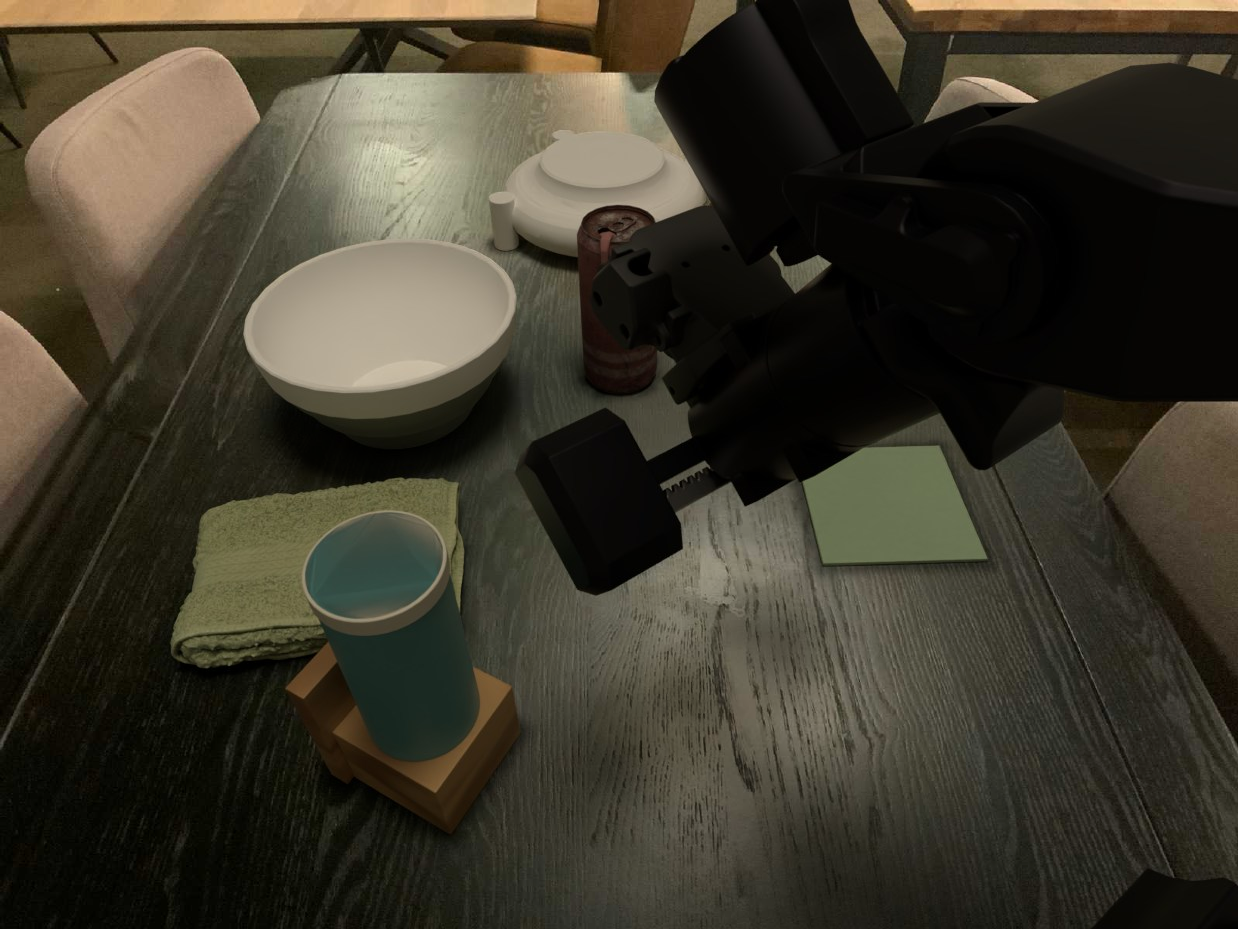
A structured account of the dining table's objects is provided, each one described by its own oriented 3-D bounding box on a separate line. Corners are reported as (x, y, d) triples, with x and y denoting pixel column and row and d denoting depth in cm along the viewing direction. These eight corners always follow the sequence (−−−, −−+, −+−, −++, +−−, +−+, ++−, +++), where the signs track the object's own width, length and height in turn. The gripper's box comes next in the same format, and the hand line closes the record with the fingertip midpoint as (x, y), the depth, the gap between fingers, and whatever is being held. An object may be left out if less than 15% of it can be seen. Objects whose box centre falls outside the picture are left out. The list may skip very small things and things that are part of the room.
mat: (986, 561, 57) (988, 558, 57) (822, 566, 57) (823, 563, 57) (938, 448, 65) (939, 445, 65) (793, 452, 65) (794, 449, 65)
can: (577, 394, 70) (567, 241, 60) (591, 348, 74) (585, 198, 64) (650, 402, 69) (653, 248, 59) (660, 354, 74) (665, 203, 64)
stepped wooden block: (526, 725, 49) (510, 636, 43) (445, 844, 44) (413, 763, 38) (418, 668, 52) (388, 576, 45) (331, 774, 47) (284, 688, 41)
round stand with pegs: (536, 308, 79) (529, 239, 74) (460, 196, 94) (451, 132, 89) (761, 250, 86) (769, 182, 81) (656, 154, 101) (657, 92, 96)
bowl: (542, 336, 76) (533, 240, 69) (507, 498, 62) (492, 396, 55) (325, 330, 77) (296, 234, 70) (243, 487, 63) (197, 386, 56)
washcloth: (471, 639, 53) (464, 608, 51) (175, 683, 51) (154, 653, 49) (463, 489, 62) (456, 457, 60) (211, 521, 60) (195, 490, 58)
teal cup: (505, 695, 45) (476, 548, 36) (425, 787, 41) (371, 647, 33) (422, 640, 47) (377, 490, 39) (340, 722, 44) (270, 577, 35)
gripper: (908, 97, 33) (729, 277, 48) (487, 246, 26) (425, 407, 40) (1054, 345, 33) (828, 453, 47) (666, 574, 25) (537, 619, 39)
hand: (666, 474), depth 43 cm, fingers open, 9 cm apart
